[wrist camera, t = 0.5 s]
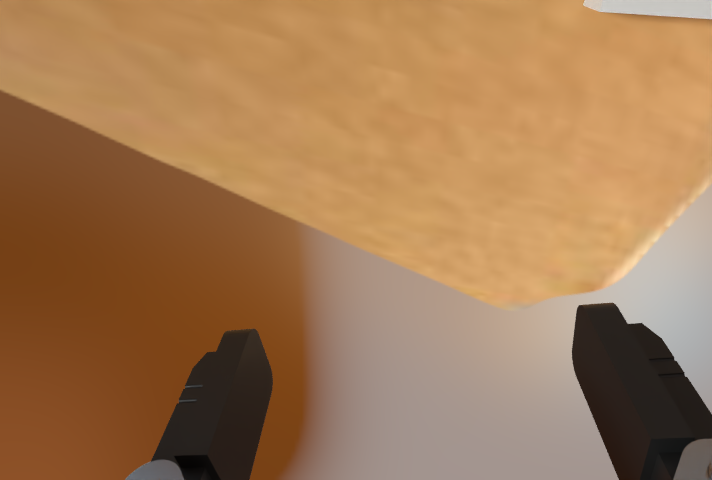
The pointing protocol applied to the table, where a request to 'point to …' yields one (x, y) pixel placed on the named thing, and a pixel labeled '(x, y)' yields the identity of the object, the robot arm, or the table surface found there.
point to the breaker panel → (655, 7)
